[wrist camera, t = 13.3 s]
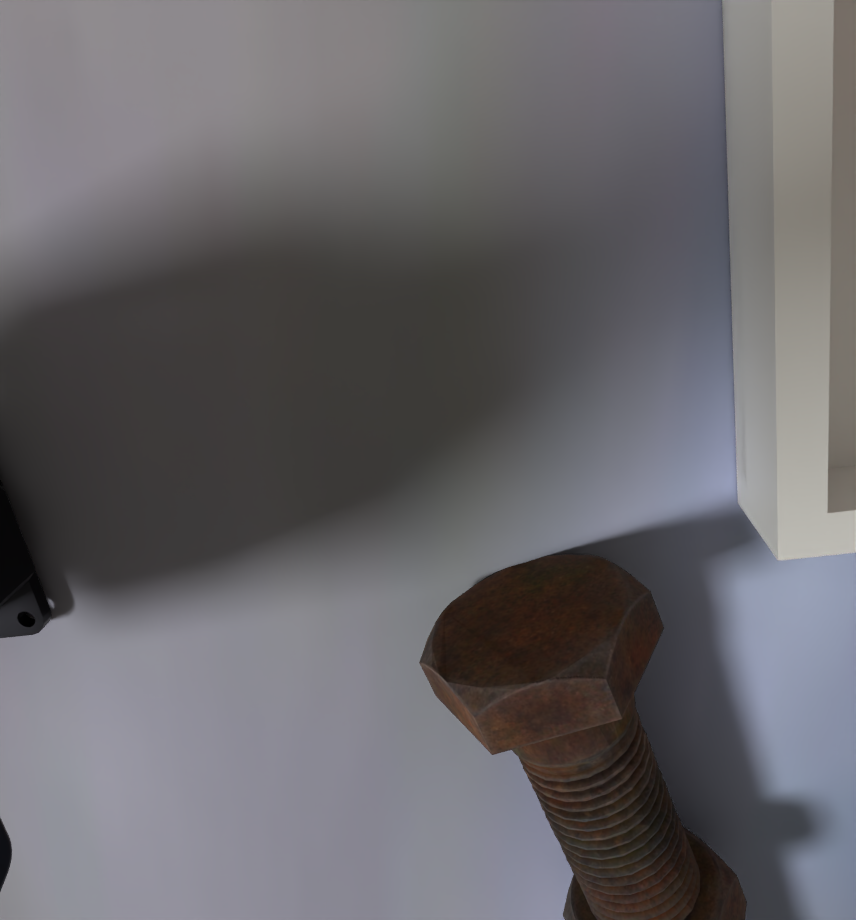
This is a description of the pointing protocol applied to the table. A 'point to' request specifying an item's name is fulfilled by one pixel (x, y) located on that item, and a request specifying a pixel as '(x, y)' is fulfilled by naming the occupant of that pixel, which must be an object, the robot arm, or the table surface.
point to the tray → (793, 268)
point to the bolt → (579, 730)
